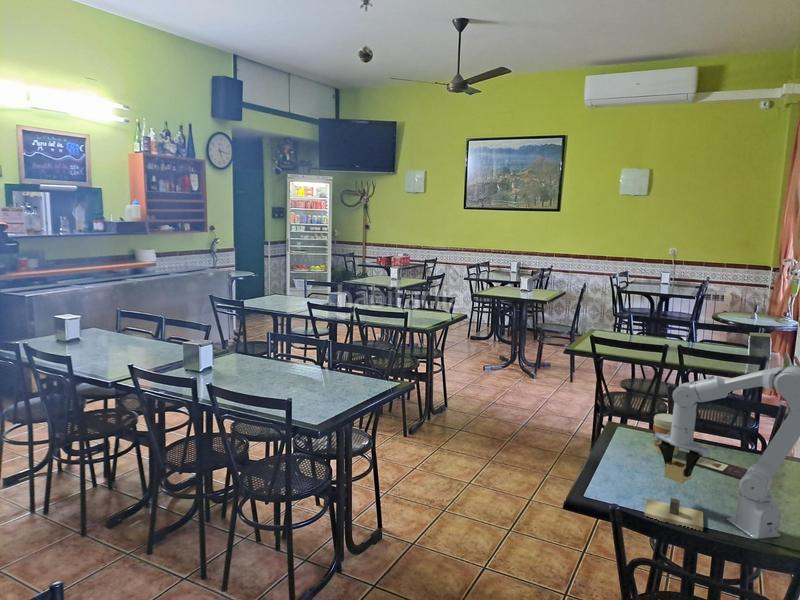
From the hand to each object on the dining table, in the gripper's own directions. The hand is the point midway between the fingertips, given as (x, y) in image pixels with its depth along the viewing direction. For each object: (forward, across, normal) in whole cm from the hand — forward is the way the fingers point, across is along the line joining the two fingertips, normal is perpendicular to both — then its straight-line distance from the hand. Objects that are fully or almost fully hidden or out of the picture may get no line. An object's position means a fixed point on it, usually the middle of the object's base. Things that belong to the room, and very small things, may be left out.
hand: (678, 472), depth 163 cm
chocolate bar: (+10, +1, -36) cm, 37 cm away
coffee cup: (+9, +20, -34) cm, 40 cm away
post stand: (+9, -4, +8) cm, 13 cm away
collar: (+2, 0, 0) cm, 2 cm away
